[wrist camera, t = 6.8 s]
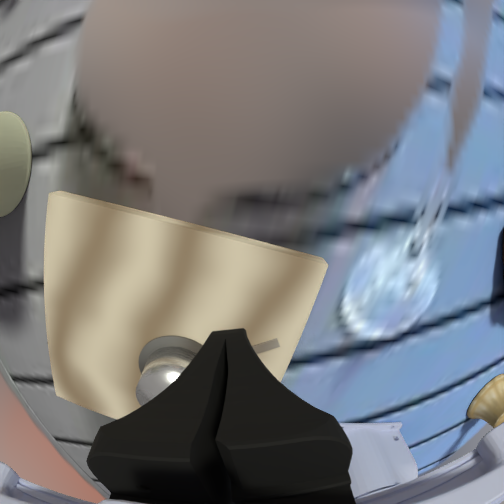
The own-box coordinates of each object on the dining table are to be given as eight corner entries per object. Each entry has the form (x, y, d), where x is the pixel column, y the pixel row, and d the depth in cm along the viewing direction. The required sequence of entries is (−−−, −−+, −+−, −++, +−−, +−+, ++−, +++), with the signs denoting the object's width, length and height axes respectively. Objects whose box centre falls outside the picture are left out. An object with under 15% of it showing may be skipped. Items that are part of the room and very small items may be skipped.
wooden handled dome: (138, 348, 20) (125, 374, 17) (202, 343, 20) (197, 372, 17) (177, 438, 23) (173, 464, 20) (229, 436, 23) (229, 463, 20)
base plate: (322, 257, 21) (329, 265, 19) (247, 437, 26) (248, 450, 24) (59, 190, 18) (47, 193, 17) (62, 386, 24) (55, 396, 22)
